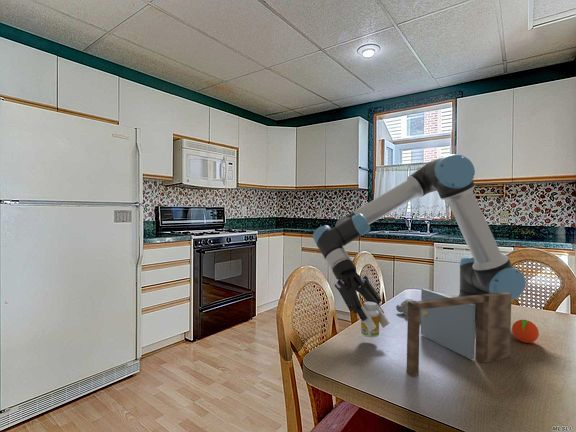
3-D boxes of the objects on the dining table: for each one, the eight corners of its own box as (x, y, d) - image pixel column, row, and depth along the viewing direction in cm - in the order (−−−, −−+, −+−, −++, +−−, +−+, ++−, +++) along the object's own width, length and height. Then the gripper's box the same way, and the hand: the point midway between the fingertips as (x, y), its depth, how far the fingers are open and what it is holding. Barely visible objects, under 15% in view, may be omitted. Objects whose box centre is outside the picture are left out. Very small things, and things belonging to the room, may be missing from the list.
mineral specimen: (441, 323, 119) (441, 305, 119) (427, 326, 116) (427, 307, 116) (409, 311, 133) (409, 294, 133) (395, 313, 130) (396, 296, 130)
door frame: (502, 354, 94) (504, 292, 93) (509, 357, 92) (511, 293, 91) (406, 373, 82) (408, 301, 81) (412, 376, 80) (413, 304, 80)
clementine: (536, 349, 97) (537, 326, 97) (509, 343, 102) (509, 320, 102) (539, 342, 103) (540, 319, 103) (513, 336, 108) (513, 314, 108)
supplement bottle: (379, 332, 102) (379, 301, 102) (378, 338, 97) (378, 306, 97) (362, 330, 104) (362, 300, 104) (360, 336, 99) (360, 304, 99)
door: (476, 358, 90) (478, 304, 89) (468, 360, 89) (469, 305, 88) (425, 333, 108) (426, 288, 107) (418, 334, 107) (419, 289, 106)
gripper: (354, 268, 118) (391, 327, 105) (315, 274, 107) (351, 340, 94) (365, 255, 113) (406, 315, 100) (326, 260, 103) (365, 327, 90)
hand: (379, 327), depth 97 cm, fingers closed on supplement bottle, 5 cm apart
